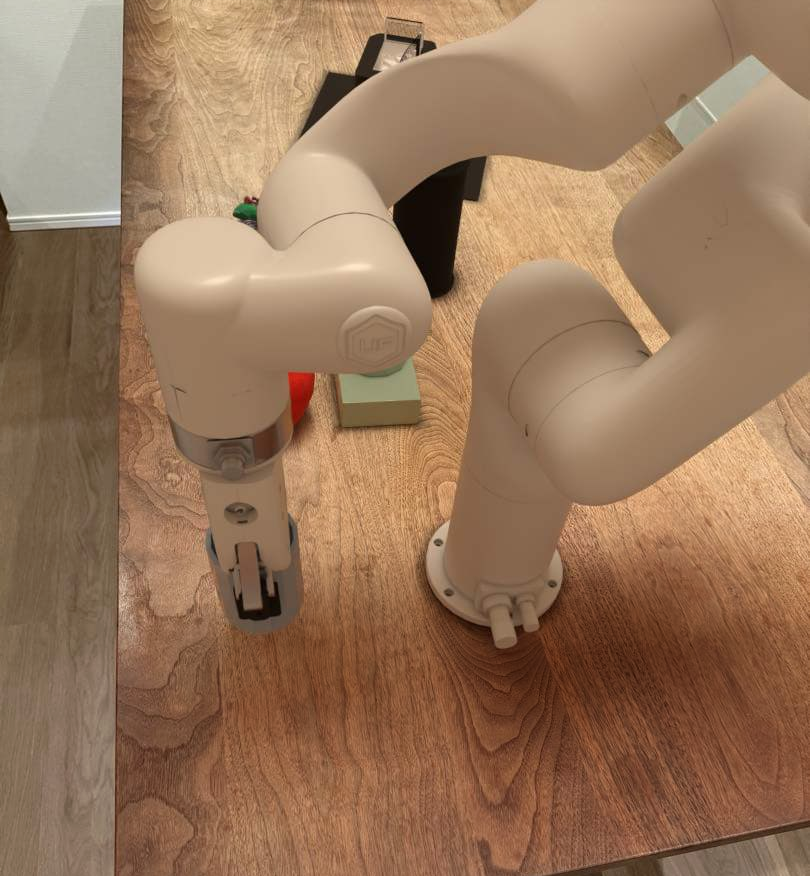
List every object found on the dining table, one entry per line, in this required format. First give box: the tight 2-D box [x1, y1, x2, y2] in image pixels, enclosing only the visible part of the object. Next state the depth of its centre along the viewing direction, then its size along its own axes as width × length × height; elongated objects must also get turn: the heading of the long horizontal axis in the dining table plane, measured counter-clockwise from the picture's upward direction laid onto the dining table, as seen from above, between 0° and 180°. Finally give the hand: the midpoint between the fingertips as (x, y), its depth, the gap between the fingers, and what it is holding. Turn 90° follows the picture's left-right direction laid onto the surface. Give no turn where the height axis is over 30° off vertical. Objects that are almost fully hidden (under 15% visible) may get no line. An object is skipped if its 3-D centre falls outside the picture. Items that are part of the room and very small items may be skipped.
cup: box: [205, 512, 305, 635], centre depth 68 cm, size 7×7×8 cm
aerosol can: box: [392, 158, 472, 299], centre depth 98 cm, size 8×8×20 cm
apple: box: [288, 372, 316, 427], centre depth 87 cm, size 9×9×8 cm
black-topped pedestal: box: [297, 14, 488, 201], centre depth 120 cm, size 28×26×13 cm
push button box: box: [333, 356, 422, 428], centre depth 92 cm, size 12×8×6 cm, turn 8°
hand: (257, 572), depth 69 cm, fingers closed on cup, 6 cm apart
